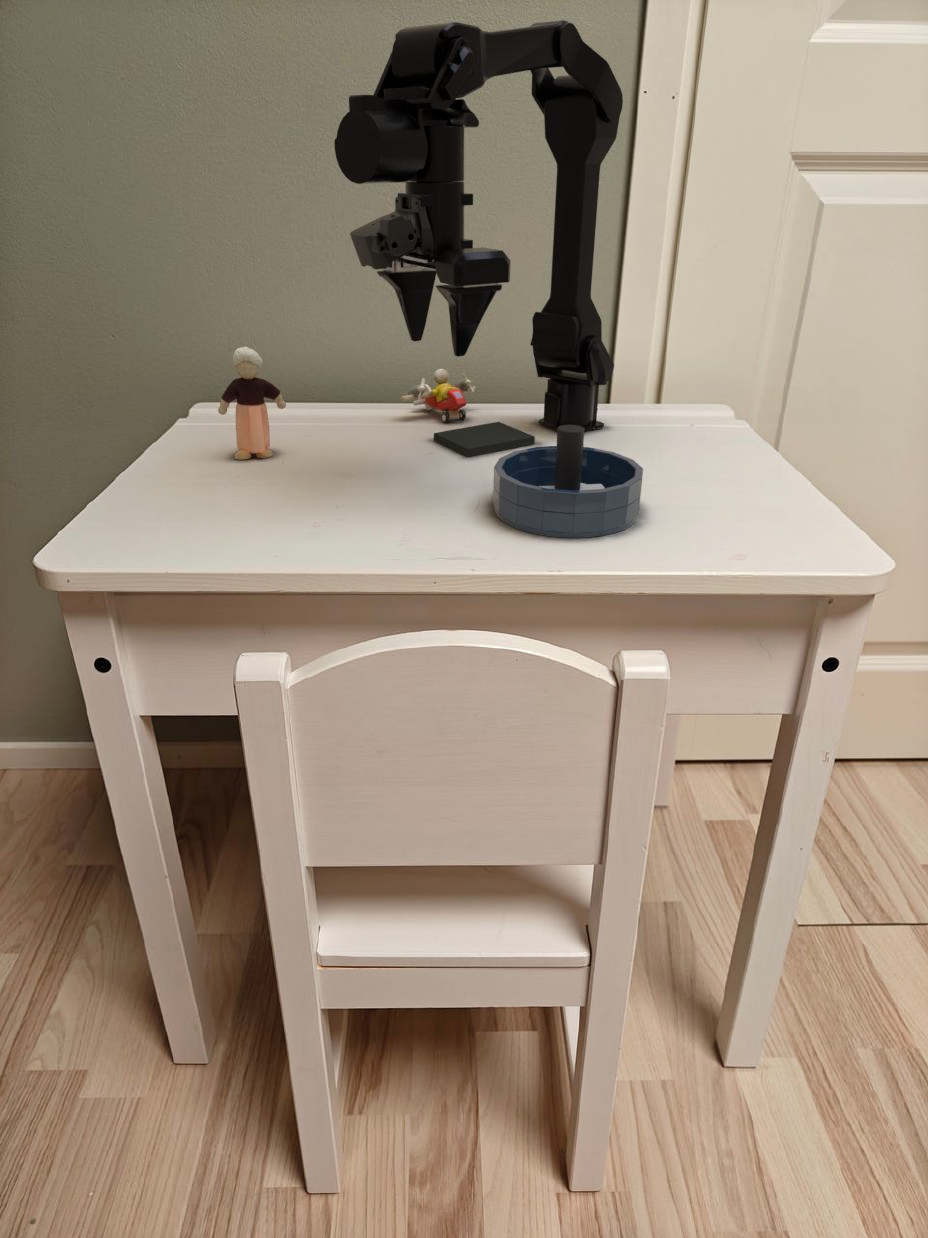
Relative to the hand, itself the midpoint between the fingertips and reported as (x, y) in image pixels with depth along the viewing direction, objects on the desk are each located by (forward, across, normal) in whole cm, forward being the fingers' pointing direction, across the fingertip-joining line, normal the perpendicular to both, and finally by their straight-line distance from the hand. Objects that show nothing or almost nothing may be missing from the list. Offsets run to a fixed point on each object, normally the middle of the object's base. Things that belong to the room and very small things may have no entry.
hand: (437, 348), depth 90 cm
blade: (+14, +16, +6) cm, 22 cm away
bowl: (+14, +16, +6) cm, 22 cm away
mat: (+14, -8, +11) cm, 20 cm away
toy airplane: (+14, -22, +13) cm, 30 cm away
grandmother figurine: (+14, -18, -15) cm, 27 cm away
